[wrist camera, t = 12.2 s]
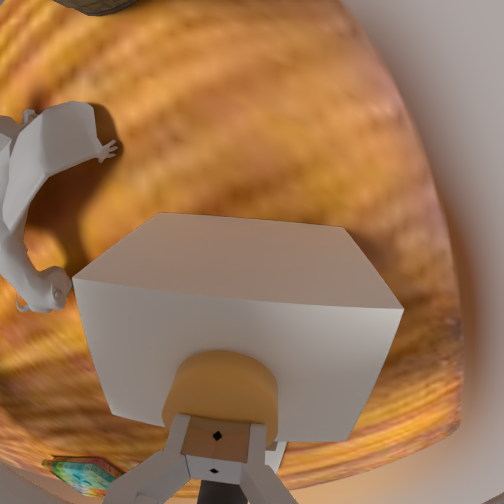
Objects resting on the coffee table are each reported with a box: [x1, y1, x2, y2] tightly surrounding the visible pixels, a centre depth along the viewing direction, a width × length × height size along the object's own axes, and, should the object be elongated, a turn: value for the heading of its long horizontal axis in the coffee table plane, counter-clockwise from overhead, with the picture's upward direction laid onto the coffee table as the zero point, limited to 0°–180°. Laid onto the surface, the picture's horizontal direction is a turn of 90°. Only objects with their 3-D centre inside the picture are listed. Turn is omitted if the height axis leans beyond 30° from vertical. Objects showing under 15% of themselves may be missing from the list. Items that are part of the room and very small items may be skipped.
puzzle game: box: [41, 457, 123, 499], centre depth 35 cm, size 12×5×20 cm
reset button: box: [162, 351, 278, 448], centre depth 10 cm, size 4×4×2 cm
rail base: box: [72, 212, 404, 474], centre depth 19 cm, size 13×30×10 cm, turn 176°
